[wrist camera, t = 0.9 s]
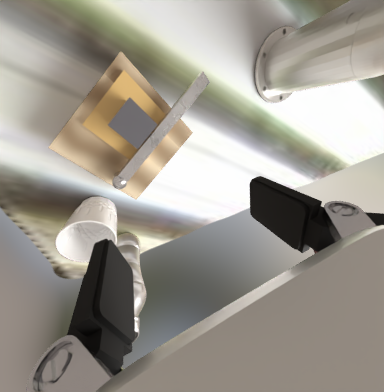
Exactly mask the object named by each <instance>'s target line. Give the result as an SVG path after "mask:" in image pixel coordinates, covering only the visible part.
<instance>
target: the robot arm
mask: <svg viewBox="0 0 384 392" xmlns="http://www.w3.org/2000/svg"><path fill="white" fill-rule="evenodd" d="M383 74H384V0H351V1H349V2H347V3H345V4H344V5H342V6H340V7H338V8H336V9H334V10H333V11H331V12H329V13H327V14H325V15H323V16H321V17H320V18H318V19H316V20H314V21H312V22H310V23H309V24H307V25H305V26H303V27H301V28H299V29H297V30H296V29H295V28H293V27H290V26H284V27H281V28H279V29H277V30H275V31H274V32H273V33H271V34H270V35H269V36H268V38H267V39H266V40H265V42H264V43H263V45H262V47H261V49H260V52H259V54H258V58H257V62H256V68H255V79H256V85H257V89H258V92H259V94H260V95H261V97H262V98H263V99H264V100H265V101H267V102H270V103H277V102H281V101H283V100H285V99H286V98H288V97H289V96H290V95H291V94H292V92H295V91H301V90H306V89H312V88H317V87H323V86H328V85H334V84H339V83H345V82H351V81H356V80H361V79H367V78H372V77H376V76H380V75H383ZM321 203H322V201H319V200H317V199H315V198H312V197H310V196H307V195H305V194H302V193H300V192H297V191H295V190H293V189H290V188H288V187H286V186H283V185H281V184H278V183H276V182H274V181H271V180H269V179H266V178H264V177H261V176H259V177H256V178H254V179H252V180H251V182H250V213H251V215H252V217H253V218H254V219H256V220H257V221H258V222H260V223H261V224H262V225H264V226H265V227H266V228H267V229H269V230H270V231H271V232H273V233H274V234H275V235H277V236H278V237H279V238H280V239H282V240H283V241H284V242H286V243H287V244H288V245H290V246H291V247H292V248H294V249H297V250H299V251H300V252H301V253H303V252H305V251H307V250H309V247H311V248H312V249H313V250H314V253H315V254H314V255H312V256H311V257H309V258H307V259H306V260H304V261H302V262H300V263H299V264H297V265H296V266H294V267H292V268H291V269H288V270H287V271H285V272H283V273H282V274H280V275H278V276H276V277H275V278H273V279H271V280H270V281H268V282H266V283H265V284H263V285H261V286H260V287H258V288H256V289H255V290H253V291H251V292H249V293H248V294H246V295H244V296H243V297H241V298H240V299H238V300H236V301H234V302H233V303H231V304H229V305H228V306H226V307H224V308H222V309H221V310H219V311H217V312H216V313H214V314H212V315H211V316H209V317H207V318H206V319H204V320H202V321H201V322H199V323H197V324H196V325H194V326H192V327H191V328H189V329H187V330H186V331H184V332H182V333H181V334H179V335H177V336H176V337H174V338H172V339H171V340H169V341H168V342H166V343H164V344H163V345H161V346H160V347H158V348H156V349H155V350H153V351H152V352H150V353H148V354H147V355H145V356H144V357H142V358H140V359H139V360H137V361H136V362H134V363H133V364H131V365H130V366H128V367H127V368H125V369H124V368H123V367H122V365H123V356H124V355H126V354H128V353H130V352H131V351H132V342H134V340H135V315H134V286H133V271H132V268H131V267H130V265H129V264H128V262H127V261H126V259H125V258H124V257H123V255H122V254H121V252H120V251H119V249H118V248H117V247H116V245H115V244H114V242H113V241H112V240H108V239H104V240H101V241H99V242H96V243H95V244H94V246H93V250H92V254H91V257H90V261H89V265H88V268H87V272H86V274H85V275H84V278H83V281H82V285H81V288H80V292H79V295H78V299H77V302H76V306H75V309H74V313H73V316H72V320H71V324H70V327H69V330H68V334H67V336H65V337H62V338H60V339H59V340H57V341H56V342H55V343H54V344H52V345H51V346H50V347H49V348H48V349H47V350H46V351H45V353H44V354H43V355H42V356H41V358H40V359H39V360H38V362H37V363H36V365H35V367H34V368H33V370H32V372H31V375H30V377H29V379H28V383H27V387H26V392H384V214H380V213H365V212H364V211H363V210H362V209H361V208H359V207H358V206H356V205H353V204H351V203H347V202H343V201H332V202H328V203H326V204H325V206H324V207H321Z"/></svg>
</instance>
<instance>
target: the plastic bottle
mask: <svg viewBox="0 0 384 392" xmlns="http://www.w3.org/2000/svg"><path fill="white" fill-rule="evenodd" d="M116 247H117V248H118V249H119V251H120V252H121V254H122V255H123V257H124V258H125V259H126V261H127V262H128V264H129V265H130V267H131V268H132V271H133V286H134V315H135V340H136V339H137V338H138V336H139V317H138V315H139V313H140V311H141V309H142V308H143V305H144V303H145V300H146V289H145V285H144V282H143V279H142V275H141V270H140V265H139V254H140V247H141V245H140V241H139V239H138V237H137V236H135V235H133V234H131V233H123V234H120V235H118V236H117V244H116ZM135 340H134V341H135ZM132 343H133V342H132Z"/></svg>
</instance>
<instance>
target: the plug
mask: <svg viewBox="0 0 384 392" xmlns="http://www.w3.org/2000/svg"><path fill="white" fill-rule="evenodd" d="M164 116H165V113H164V112H163V111H162V110H161V109H160V108H159V107H158V106H157V105H156V104H155V103H154V102H153V100H152V99H151V98H150V97H149V96H148V95H147V94H146V93H145V92H144V91H143V90H142V89H141V88H140V86H139V85H138V84H137V83H136V82H135V81H134V80H133V79H132V78H131V77H130V76H129V75H128V74H127V72H126V71H125V70H123V72H122V73H121V74H120V76H119V77H118V78H117V80H116V81H115V82H114V84H113V85H112V86H111V87H110V89H109V90H108V91H107V93H106V94H105V95H104V97H103V98H102V99H101V101H100V102H99V103H98V105H97V106H96V107H95V108H94V110H93V111H92V112H91V114H90V115H89V116H88V118H87V119H86V120H85V122H84V123H83V124H82V125H83V126H85V127H86V128H87V129H89V130H90V131H91V132H93V133H94V134H95V135H97V136H98V137H99V138H101V139H102V140H104V141H105V142H106V143H108V144H109V145H110V146H112V147H113V148H114V149H116V150H117V151H118V152H120V153H121V154H123V155H124V156H125V157H127V158H128V159H130V158H131V157H132V156H133V154H134V153H135V152H136V151H137V149H138V148H139V147H140V146H141V145H142V143H143V142H144V141H145V140H146V139H147V137H148V136H149V135H150V134H151V132H152V131H153V130H154V129H155V128H156V126H157V125H158V124H159V122H160V121H161V120H162V119H163V118H164Z"/></svg>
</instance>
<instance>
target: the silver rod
mask: <svg viewBox="0 0 384 392" xmlns="http://www.w3.org/2000/svg"><path fill="white" fill-rule="evenodd" d="M209 83H210V82H209V80H208V78H207V77H206V75H205V74H204V72H202V73H200V74H198V76H197V77H196V78H195V79H194V81H193V82H192V83H191V84H190V86H189V87H188V88H187V89H186V90H185V92H184V93H183V94H182V95H181V97H180V98H179V99H178V100H177V102H176V103H175V104H174V105H173V106H172V108H171V109H170V110H169V111H168V113H167V114H166V115H165V116H164V118H163V119H162V120H161V121H160V122H159V124H158V125H157V126H156V128H155V129H154V130H153V131H152V132H151V134H150V135H149V136H148V137H147V139H146V140H145V141H144V142H143V143H142V145H141V146H140V147H139V148H138V149H137V151H136V152H135V153H134V154H133V156H132V157H131V158H130V159H129V161H128V162H127V163H126V164H125V165H124V167H123V168H122V169H121V170H120V172H117V173H115V174H114V177H113V181H112V184H113V186H114V187H115V188H117V189H123V188H125V187H126V185H127V182H128V181H129V180H130V178H131V177H132V176H133V175H134V173H135V172H136V171H137V170H138V169H139V167H140V166H141V165H142V164H143V163H144V161H145V160H146V159H147V158H148V157H149V155H150V154H151V153H152V152H153V150H154V149H155V148H156V147H157V146H158V144H159V143H160V142H161V141H162V140H163V138H164V137H165V136H166V135H167V133H168V132H169V131H170V130H171V129H172V127H173V126H174V125H175V124H176V123H177V121H178V120H179V119H180V118H181V117H182V115H183V114H184V113H185V112H186V110H187V109H188V108H189V107H190V106H191V104H192V103H193V102H194V101H195V100H196V98H197V97H198V96H199V95H200V93H201V92H202V91H203V90H204V89H205V87H206V86H207V85H208V84H209Z"/></svg>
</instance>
